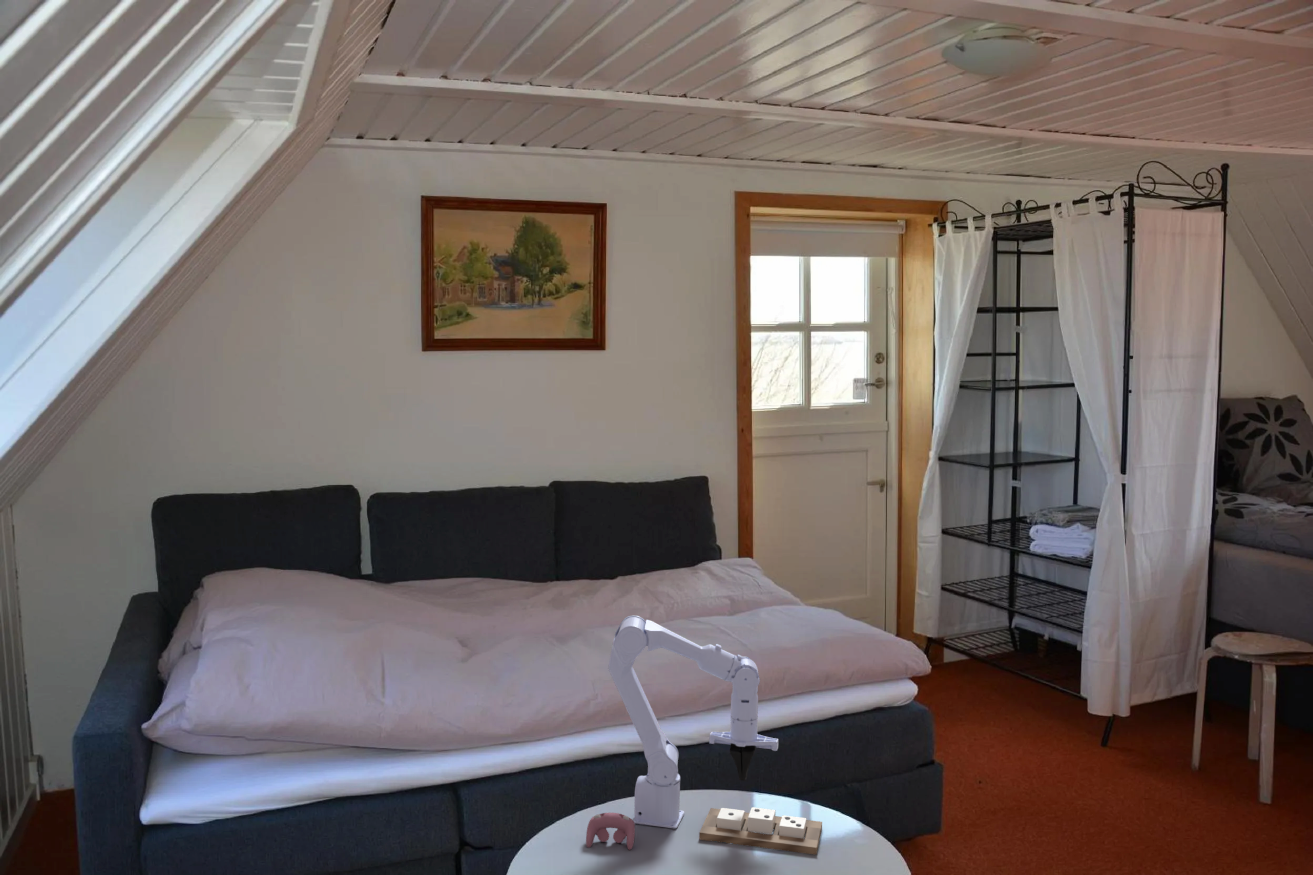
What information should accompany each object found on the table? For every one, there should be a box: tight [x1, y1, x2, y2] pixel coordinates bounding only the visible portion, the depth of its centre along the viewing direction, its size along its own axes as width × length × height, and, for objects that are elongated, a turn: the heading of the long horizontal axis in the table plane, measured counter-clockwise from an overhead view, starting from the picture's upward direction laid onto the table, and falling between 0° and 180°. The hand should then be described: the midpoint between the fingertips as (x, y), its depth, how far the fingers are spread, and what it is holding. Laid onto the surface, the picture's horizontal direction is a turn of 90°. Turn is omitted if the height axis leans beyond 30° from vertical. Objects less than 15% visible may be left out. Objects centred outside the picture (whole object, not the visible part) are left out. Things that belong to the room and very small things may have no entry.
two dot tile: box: [748, 806, 776, 835], centre depth 221 cm, size 5×5×3 cm
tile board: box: [698, 807, 823, 856], centre depth 221 cm, size 24×12×2 cm, turn 76°
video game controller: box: [585, 812, 636, 851], centre depth 216 cm, size 10×5×7 cm, turn 85°
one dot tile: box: [717, 807, 746, 831], centre depth 223 cm, size 5×5×3 cm
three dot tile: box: [779, 815, 807, 839], centre depth 219 cm, size 5×5×3 cm
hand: (743, 778), depth 226 cm, fingers closed
